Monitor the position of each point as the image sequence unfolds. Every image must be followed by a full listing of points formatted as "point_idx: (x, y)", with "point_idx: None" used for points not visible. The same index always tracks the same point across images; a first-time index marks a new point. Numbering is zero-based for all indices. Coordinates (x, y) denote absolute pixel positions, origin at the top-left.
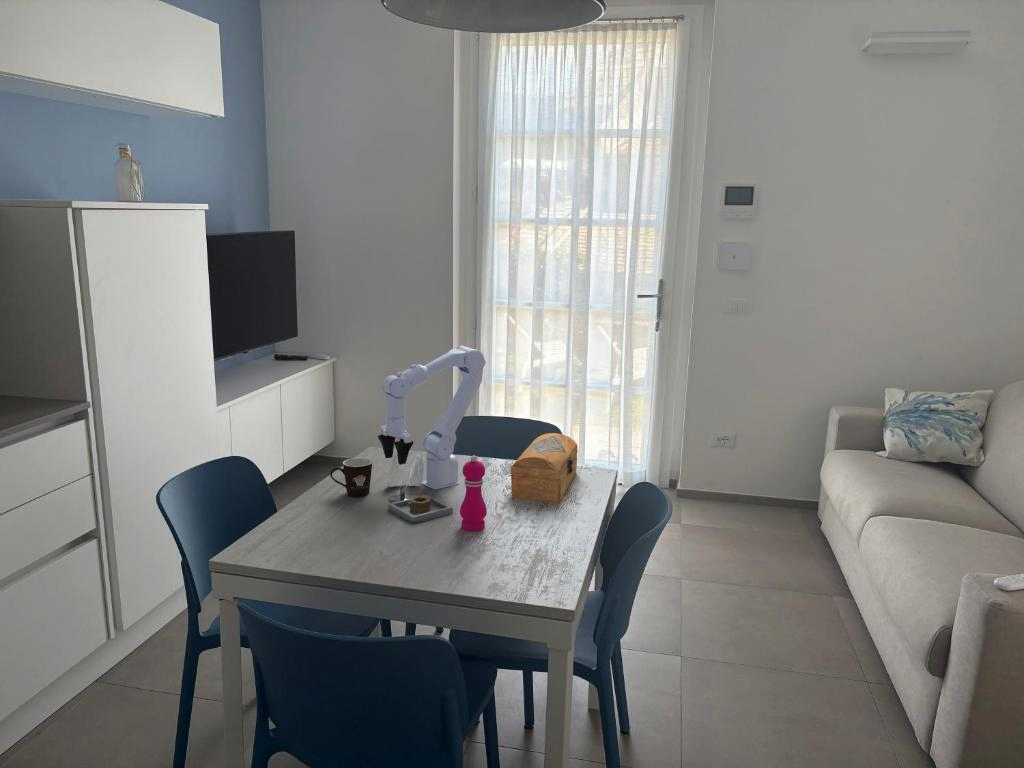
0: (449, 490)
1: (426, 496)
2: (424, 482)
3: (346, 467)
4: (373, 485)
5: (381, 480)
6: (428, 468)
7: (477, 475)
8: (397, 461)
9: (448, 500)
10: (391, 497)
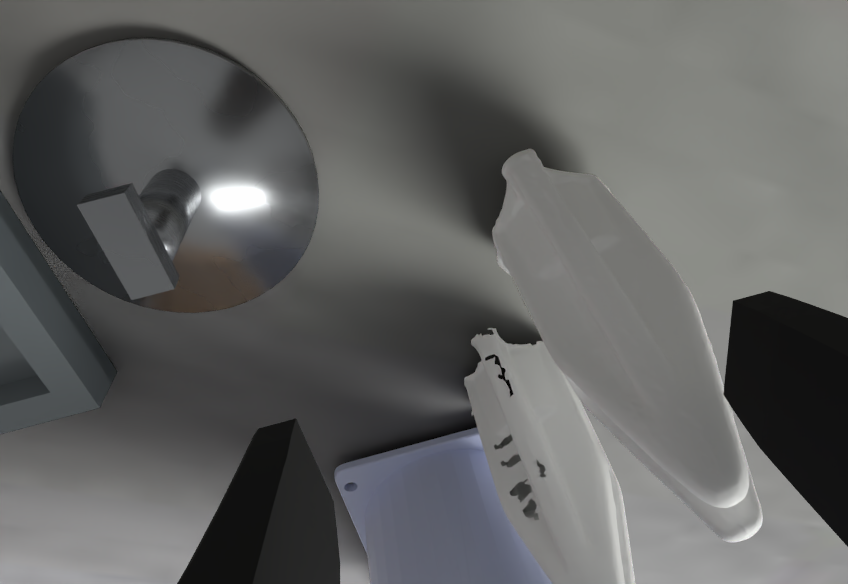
0: None
1: (46, 396)
2: None
3: None
4: (720, 44)
5: (787, 162)
6: (459, 578)
7: None
8: (615, 410)
9: (92, 497)
10: (250, 97)
